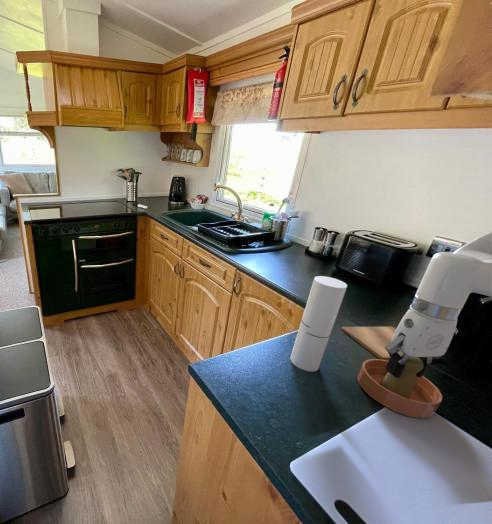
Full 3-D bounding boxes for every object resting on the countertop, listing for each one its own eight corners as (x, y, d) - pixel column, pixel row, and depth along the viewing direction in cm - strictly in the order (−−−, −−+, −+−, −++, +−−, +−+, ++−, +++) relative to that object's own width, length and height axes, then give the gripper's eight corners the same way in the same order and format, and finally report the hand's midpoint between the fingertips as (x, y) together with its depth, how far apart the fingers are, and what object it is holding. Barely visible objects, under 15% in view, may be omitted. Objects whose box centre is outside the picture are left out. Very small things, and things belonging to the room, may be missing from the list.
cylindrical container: (303, 352, 85) (328, 275, 77) (324, 369, 79) (354, 286, 70) (284, 356, 83) (307, 277, 74) (304, 373, 77) (332, 289, 68)
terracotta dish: (391, 371, 80) (397, 358, 78) (451, 417, 66) (460, 402, 65) (343, 373, 78) (348, 359, 76) (394, 421, 64) (402, 405, 63)
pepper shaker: (373, 386, 73) (389, 351, 69) (387, 380, 76) (403, 346, 72) (401, 404, 68) (419, 367, 64) (414, 398, 71) (433, 361, 67)
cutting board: (391, 328, 102) (392, 326, 101) (440, 358, 87) (441, 356, 87) (340, 329, 99) (341, 326, 99) (382, 360, 84) (383, 357, 84)
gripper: (418, 317, 59) (385, 386, 65) (487, 316, 61) (449, 383, 68) (385, 299, 66) (358, 363, 72) (448, 300, 68) (417, 362, 74)
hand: (403, 372), depth 70 cm, fingers closed on pepper shaker, 5 cm apart
